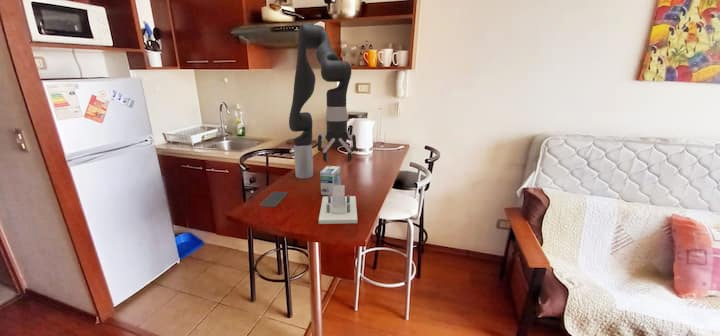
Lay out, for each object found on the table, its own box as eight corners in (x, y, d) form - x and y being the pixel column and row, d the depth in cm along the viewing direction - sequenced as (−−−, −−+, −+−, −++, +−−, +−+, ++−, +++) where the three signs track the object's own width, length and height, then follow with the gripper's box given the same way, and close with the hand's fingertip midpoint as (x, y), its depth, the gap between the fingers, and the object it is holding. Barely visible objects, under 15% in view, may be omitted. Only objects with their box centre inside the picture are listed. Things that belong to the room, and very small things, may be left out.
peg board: (322, 199, 131) (322, 190, 129) (355, 199, 131) (355, 189, 130) (318, 223, 110) (318, 212, 108) (357, 223, 110) (357, 212, 109)
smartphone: (258, 205, 124) (272, 191, 138) (258, 207, 124) (273, 193, 138) (275, 206, 123) (288, 192, 137) (275, 208, 123) (288, 194, 137)
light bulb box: (334, 196, 135) (334, 173, 131) (320, 194, 136) (319, 172, 133) (341, 187, 145) (340, 166, 141) (327, 186, 146) (326, 165, 143)
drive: (333, 201, 126) (333, 185, 123) (344, 200, 126) (344, 185, 124) (332, 213, 114) (332, 196, 112) (344, 213, 114) (344, 196, 112)
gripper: (356, 117, 114) (355, 159, 119) (317, 117, 113) (319, 159, 118) (356, 120, 107) (356, 164, 111) (316, 120, 106) (317, 164, 111)
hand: (337, 161), depth 115 cm, fingers open, 8 cm apart
